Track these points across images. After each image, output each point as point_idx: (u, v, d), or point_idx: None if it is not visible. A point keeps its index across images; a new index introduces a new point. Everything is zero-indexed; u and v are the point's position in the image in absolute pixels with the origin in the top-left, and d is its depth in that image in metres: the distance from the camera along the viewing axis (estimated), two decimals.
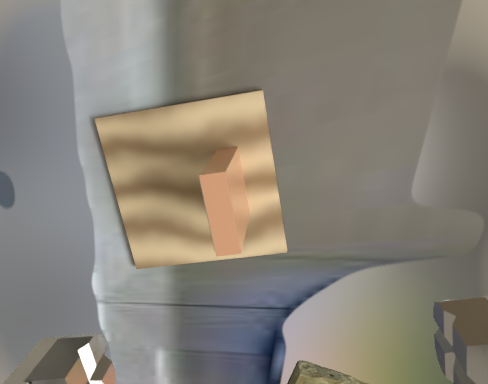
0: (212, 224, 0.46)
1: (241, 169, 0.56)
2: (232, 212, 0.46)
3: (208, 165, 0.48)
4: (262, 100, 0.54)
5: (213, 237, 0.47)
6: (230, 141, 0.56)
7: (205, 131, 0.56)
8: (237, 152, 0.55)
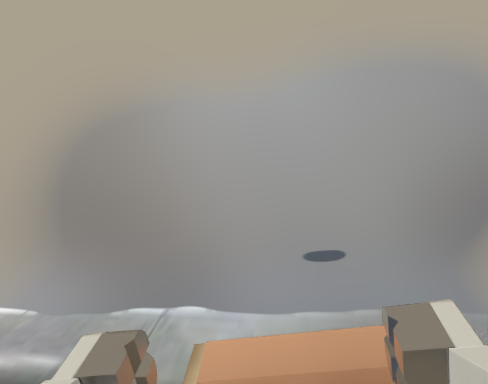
0: (277, 339, 0.22)
1: None
2: (300, 372, 0.20)
3: None
4: None
5: (248, 339, 0.23)
6: None
7: None
8: None
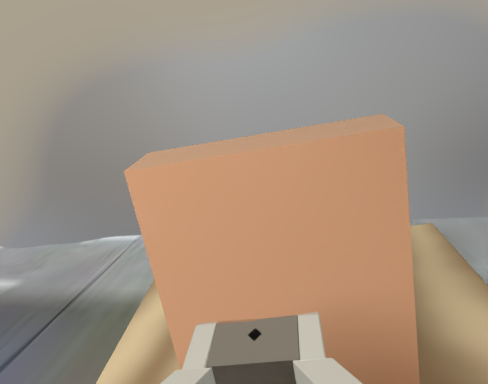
0: (238, 139, 0.17)
1: None
2: (262, 149, 0.14)
3: None
4: None
5: (202, 144, 0.17)
6: None
7: (452, 350, 0.21)
8: None
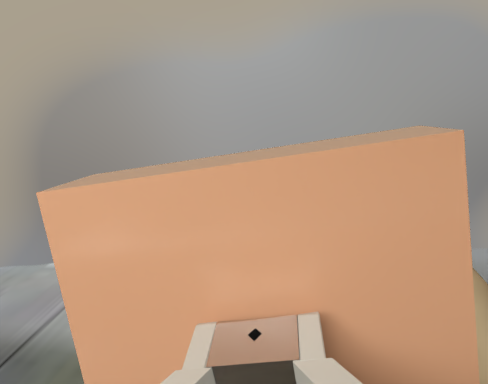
0: (215, 157, 0.12)
1: None
2: (243, 163, 0.09)
3: None
4: None
5: (165, 164, 0.12)
6: None
7: None
8: None
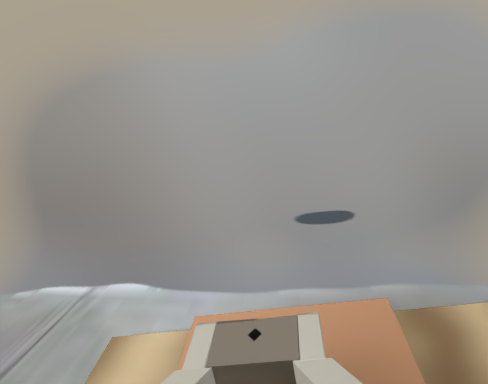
0: None
1: None
2: (292, 309, 0.21)
3: None
4: None
5: None
6: None
7: None
8: None
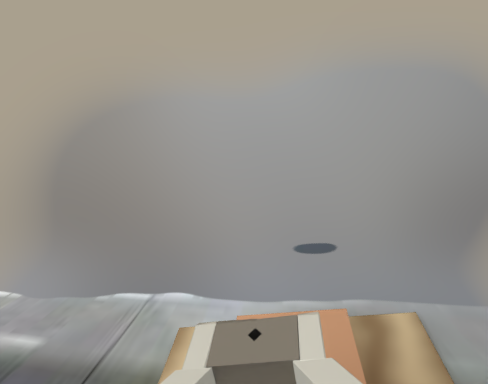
0: None
1: None
2: (293, 313, 0.37)
3: None
4: None
5: None
6: None
7: None
8: None
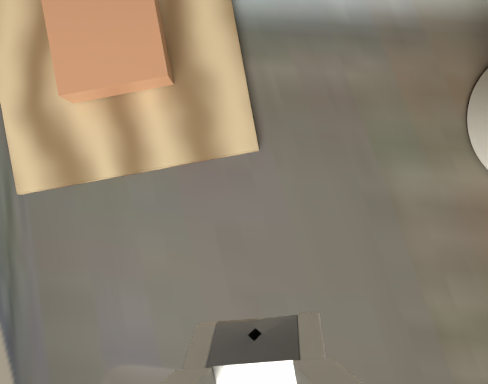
0: None
1: (132, 73, 0.36)
2: None
3: None
4: (245, 150, 0.39)
5: None
6: (186, 106, 0.39)
7: (200, 70, 0.40)
8: (159, 58, 0.36)
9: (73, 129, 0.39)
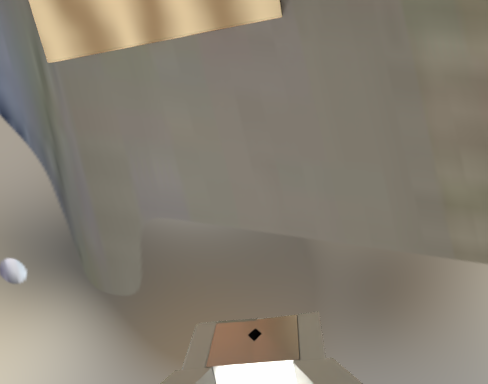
0: None
1: None
2: None
3: None
4: (267, 16, 0.38)
5: None
6: None
7: None
8: None
9: None
